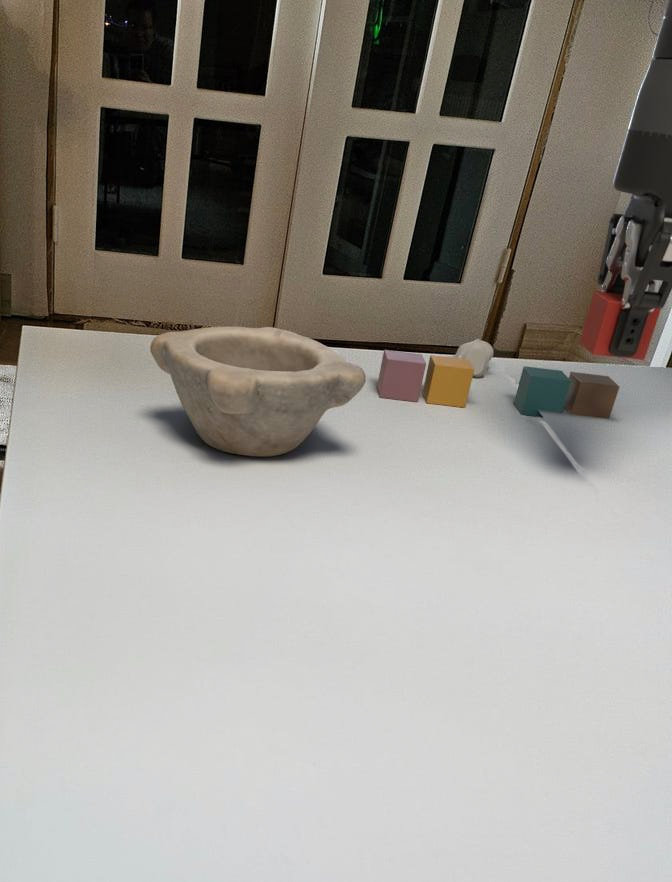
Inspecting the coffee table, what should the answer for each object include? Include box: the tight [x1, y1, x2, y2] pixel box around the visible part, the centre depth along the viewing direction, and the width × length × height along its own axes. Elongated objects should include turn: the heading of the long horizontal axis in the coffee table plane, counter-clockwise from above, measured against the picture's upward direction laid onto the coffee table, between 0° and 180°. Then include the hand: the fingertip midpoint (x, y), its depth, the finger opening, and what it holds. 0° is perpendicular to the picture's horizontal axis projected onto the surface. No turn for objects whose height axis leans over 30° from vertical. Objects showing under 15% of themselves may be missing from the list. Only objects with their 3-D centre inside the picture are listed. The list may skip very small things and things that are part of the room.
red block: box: [578, 290, 662, 361], centre depth 82 cm, size 4×4×4 cm
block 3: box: [513, 365, 571, 418], centre depth 110 cm, size 4×4×4 cm
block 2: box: [422, 354, 474, 409], centre depth 110 cm, size 4×4×4 cm
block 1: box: [376, 349, 427, 403], centre depth 111 cm, size 4×4×4 cm
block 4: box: [563, 371, 621, 420], centre depth 110 cm, size 4×4×4 cm
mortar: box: [149, 326, 366, 457], centre depth 90 cm, size 17×17×9 cm
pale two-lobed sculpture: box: [452, 338, 495, 378], centre depth 124 cm, size 4×8×5 cm
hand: (612, 346), depth 83 cm, fingers closed on red block, 4 cm apart
